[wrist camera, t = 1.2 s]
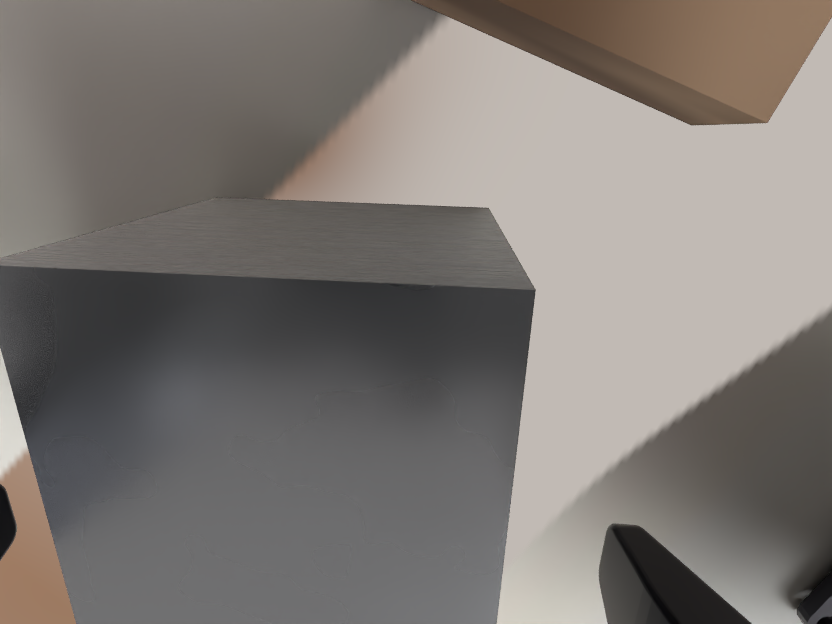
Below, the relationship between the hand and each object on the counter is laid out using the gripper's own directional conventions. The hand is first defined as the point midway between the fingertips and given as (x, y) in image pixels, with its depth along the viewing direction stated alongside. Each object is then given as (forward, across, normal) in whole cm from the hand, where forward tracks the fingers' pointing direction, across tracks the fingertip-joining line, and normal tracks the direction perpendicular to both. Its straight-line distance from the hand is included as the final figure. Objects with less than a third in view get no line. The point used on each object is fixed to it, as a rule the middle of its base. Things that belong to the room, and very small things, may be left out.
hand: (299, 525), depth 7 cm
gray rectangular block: (+5, 0, 0) cm, 5 cm away
